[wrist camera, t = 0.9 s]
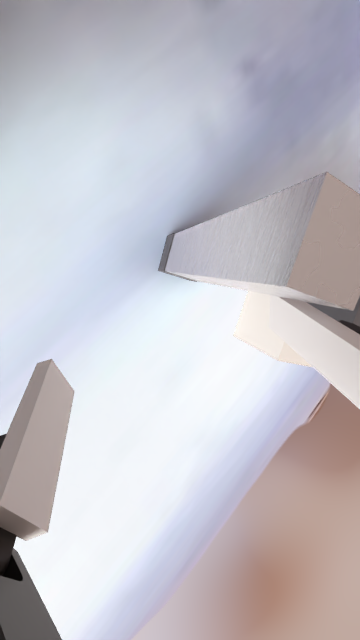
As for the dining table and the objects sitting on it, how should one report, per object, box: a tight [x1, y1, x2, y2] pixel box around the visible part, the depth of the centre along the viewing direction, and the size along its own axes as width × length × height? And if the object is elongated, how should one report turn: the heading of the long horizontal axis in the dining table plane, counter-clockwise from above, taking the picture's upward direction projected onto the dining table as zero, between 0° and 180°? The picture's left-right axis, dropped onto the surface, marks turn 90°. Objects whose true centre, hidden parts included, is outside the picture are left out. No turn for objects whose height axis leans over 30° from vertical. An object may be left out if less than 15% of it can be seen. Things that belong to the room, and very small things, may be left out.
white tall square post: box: [158, 172, 360, 311], centre depth 16 cm, size 4×4×18 cm
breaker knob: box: [306, 296, 360, 327], centre depth 19 cm, size 3×6×4 cm, turn 162°
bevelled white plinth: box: [233, 291, 312, 367], centre depth 26 cm, size 11×14×8 cm
